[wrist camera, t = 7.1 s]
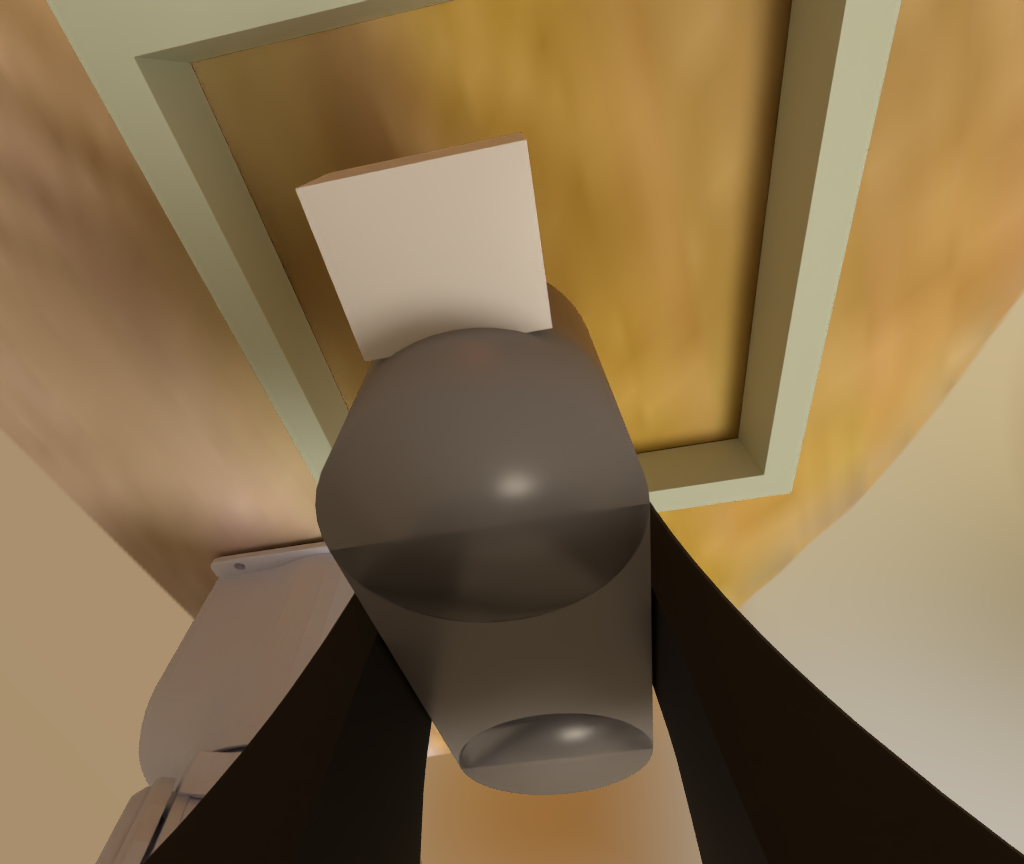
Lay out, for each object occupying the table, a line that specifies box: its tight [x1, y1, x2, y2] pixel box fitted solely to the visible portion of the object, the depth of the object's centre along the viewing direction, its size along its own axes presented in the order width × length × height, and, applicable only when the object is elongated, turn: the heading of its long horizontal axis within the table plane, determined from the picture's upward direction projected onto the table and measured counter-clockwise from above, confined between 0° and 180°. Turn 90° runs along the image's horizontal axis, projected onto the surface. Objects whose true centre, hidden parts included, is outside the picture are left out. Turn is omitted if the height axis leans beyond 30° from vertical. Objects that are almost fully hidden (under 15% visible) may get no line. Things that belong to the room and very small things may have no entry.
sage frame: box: [46, 0, 901, 512], centre depth 15 cm, size 18×18×2 cm
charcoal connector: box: [295, 132, 653, 795], centre depth 9 cm, size 4×13×4 cm, turn 10°
